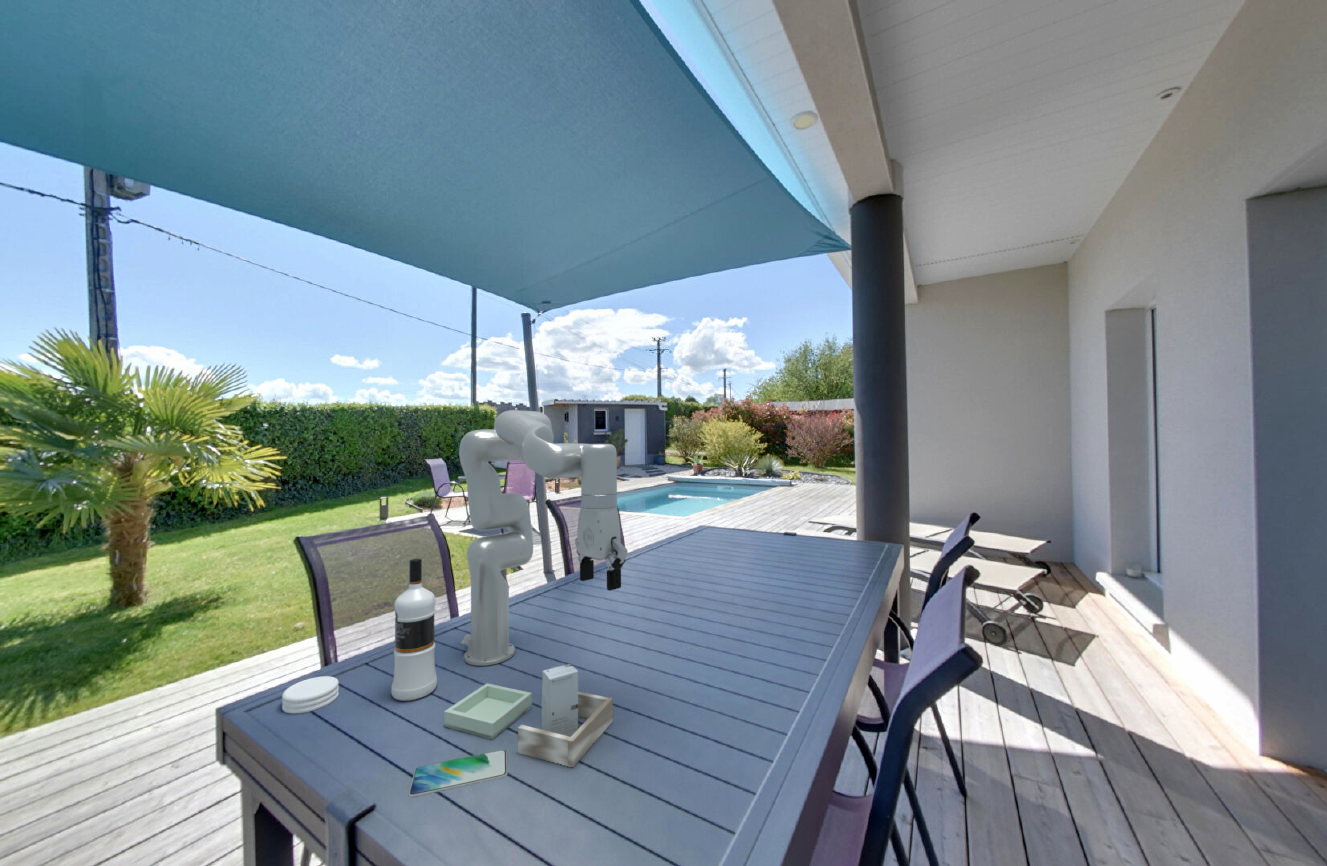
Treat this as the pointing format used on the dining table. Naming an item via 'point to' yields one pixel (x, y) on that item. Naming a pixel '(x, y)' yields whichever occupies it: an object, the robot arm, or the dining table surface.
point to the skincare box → (560, 700)
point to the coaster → (310, 694)
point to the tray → (488, 710)
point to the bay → (564, 746)
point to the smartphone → (458, 773)
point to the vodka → (414, 639)
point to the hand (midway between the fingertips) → (600, 584)
